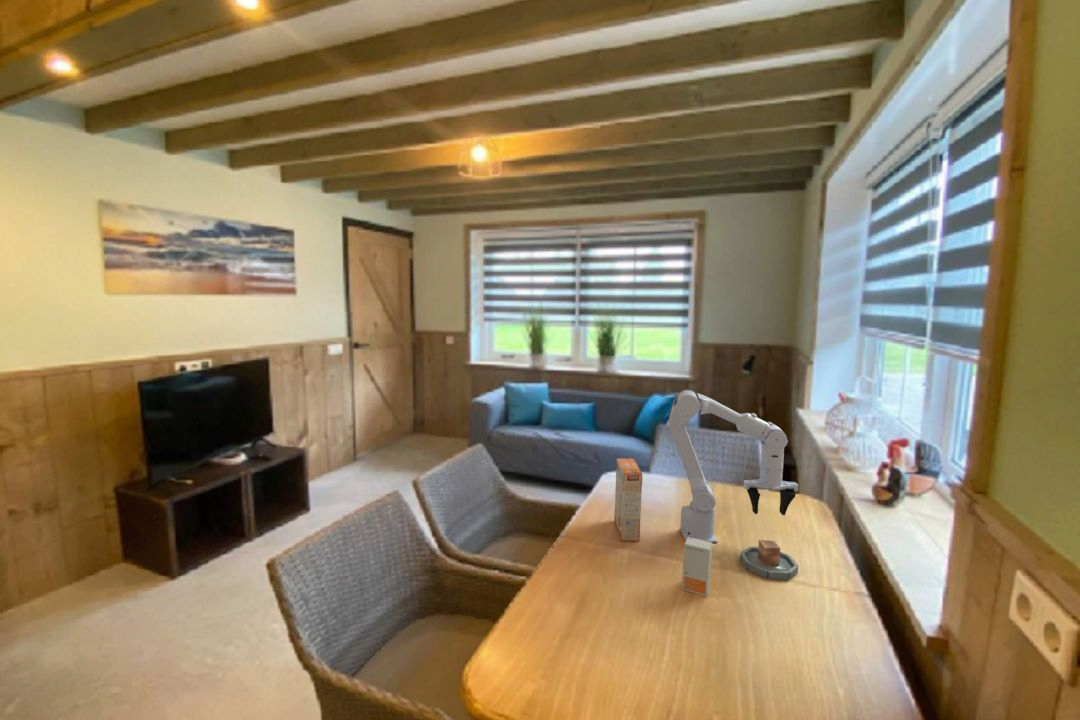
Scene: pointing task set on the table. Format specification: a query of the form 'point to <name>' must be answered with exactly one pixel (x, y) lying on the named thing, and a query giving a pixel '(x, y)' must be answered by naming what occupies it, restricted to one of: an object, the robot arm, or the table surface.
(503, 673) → the table surface
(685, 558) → the skincare box
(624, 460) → the cracker box
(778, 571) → the dish
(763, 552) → the block
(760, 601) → the table surface
